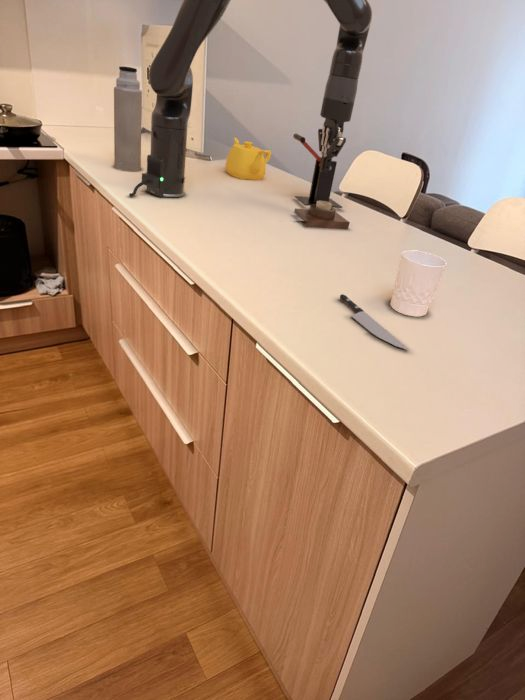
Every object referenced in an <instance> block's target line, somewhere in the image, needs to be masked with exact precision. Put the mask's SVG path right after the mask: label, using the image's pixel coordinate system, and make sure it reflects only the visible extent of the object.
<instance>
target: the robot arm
mask: <svg viewBox="0 0 525 700" xmlns="http://www.w3.org/2000/svg"><path fill="white" fill-rule="evenodd" d="M323 2H324V3H326V5H327V6H328V8H329V10H330V11H331V13H332V14H333V16H334V17H335V19H336V20H337V22H338V23H339V28H338V34H337V40H336V46H335V49H334V51H333V54H332V57H331V62H330V66H329V72H328V77H327V81H326V84H325V88H324V93H323V98H322V103H321V109H320V115H319V116H320V117H321V118H324V122H323V126H322V128H318V131H317V137H318V151H319V152H320V155H321V157H322V159H321V164H320V169H319V170H320V171H321V172H324V173H328V172H329V170H330V165H331V161H333V158H338V155H339V154H340V152H341V150H342V149H343V147H344V145H345V144H346V142H347V138H346V137H343V133H344V129H345V128H344V126H345V125H344V124H345V123H348V122H351V119H352V116H353V115H352V114H353V111H354V106H355V101H356V98H357V92H358V86H359V85H358V84H359V78H360V74H361V69H362V65H363V64H362V63H363V58H364V57H363V56H364V50H365V47H366V43H367V39H368V35H369V32H370V28H371V24H372V19H373V9H372V7H371V5H370V2H369V1H368V0H323ZM230 3H231V0H182V2H181V4H180V7H179V9H178V12H177V14H176V17H175V19H174V22H173V24H172V27H171V28H170V31H169V32H168V35H167V37H166V38H165V40H164V42H163V43H162V45H161V47H160V48H159V50H158V51H157V53H156V55H155V57H154V58H153V60H152V62H151V63H150V66H149V70H148V81H149V85H150V88H151V89H152V91H153V92H154V93H155V94H156V101H155V106H154V108H153V110H152V112H151V117H150V119H151V125H150V133H151V134H150V154H147V155H146V172H143V173H141V182H139V183H138V184H137V185H136V186H134V189H133V192H131V193H128V194H129V195H128V196H129V197H131V198H132V197H135V196H136V195H137V192H138V189H140V188H141V187H142V186H145V187H146V192H148V193H149V194H152V195H154V196H157V197H159V198H179V197H183V196H184V194H185V182H186V177H185V174H186V173H185V172H186V159H187V158H186V156H187V139H188V126H189V125H188V124H189V120H190V116H191V111H192V101H193V90H194V89H193V87H194V75H193V71H192V68H191V66H192V63H193V61H194V58H195V56H196V54H197V52H198V51H199V49H200V47H201V45H202V44H203V43H204V42H205V40H206V39H207V38H208V36H209V35H210V34H211V32H212V31H213V30H214V29H215V27H216V26H217V25H218V24H219V22H220V20H221V19H222V17H223V16H224V14H225V13H226V11H227V9H228V7H229V4H230Z"/></svg>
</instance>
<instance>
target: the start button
mask: <svg viewBox="0 0 525 700" xmlns="http://www.w3.org/2000/svg"><path fill="white" fill-rule="evenodd" d="M331 205H332V204H331V203H330V202H327V201H317V203H316V208H318V209H321V210H331Z"/></svg>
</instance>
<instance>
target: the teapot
mask: <svg viewBox="0 0 525 700" xmlns="http://www.w3.org/2000/svg"><path fill="white" fill-rule="evenodd" d="M233 141H234V144H232V146H231V149H230V150H229V152H228V154H227V158H226V161H225V170H226V172H227V174H228V175H230V176H232V177H234V178H236V179H241V180H251V181H252V180H254V181H257V180H259V181H260V180H262V179H263V178H264V177H265V175H266V164H267V163H268V162H269V160H270V159H271V157H272V151H271V150H269V149H262V148H259V147H257V146H254V145H253V144H254V143H253V142H251V141H244V142H243V144H240V140H239V139H238V137H234V138H233ZM264 154H265V155H264Z"/></svg>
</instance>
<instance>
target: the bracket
mask: <svg viewBox="0 0 525 700" xmlns="http://www.w3.org/2000/svg"><path fill="white" fill-rule="evenodd" d="M319 157H320V158H321V159H322V156H319ZM314 163H315V164H314V169H313V175H312V179H311V185H310V190H309V195H308V196H301V195H295V196H294V198H295V199H297V200H298V201H299V202H300V203H302V204H303V205H304V206H308V207H310V206H311V204H316V203H317V201H327V202H330V203H331V204H332V205H331V207H333V208H339V209H340V208H341V209H343V206H342V205H340V204H339V203H338V202H337V201H335V200H334V199H333V198H330V197H331V193H332V189H333V183H334V177H335V173H336V170H337V168H336V167H337V163H338V162H337V161H336V160H332V161H331V165H330V170H329V172H328V173H324V172H321V171H320V170H319V169H320V166H319V163H320V162H319V161H318V160H317V159H316V158H315V162H314Z"/></svg>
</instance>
